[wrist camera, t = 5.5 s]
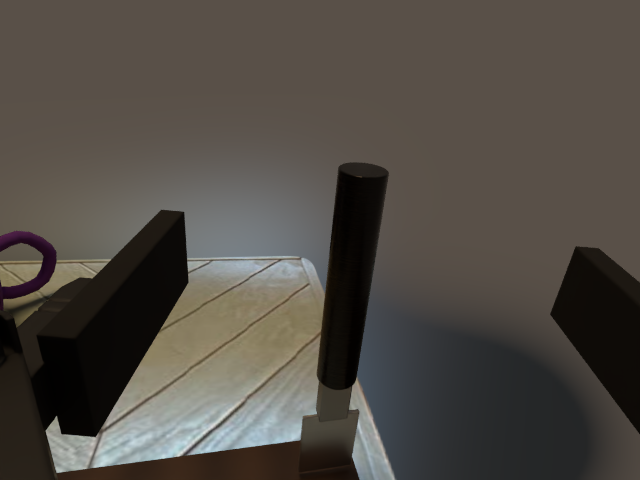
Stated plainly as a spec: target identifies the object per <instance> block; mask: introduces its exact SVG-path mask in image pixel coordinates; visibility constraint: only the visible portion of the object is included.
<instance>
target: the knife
mask: <svg viewBox="0 0 640 480" xmlns="http://www.w3.org/2000/svg"><path fill="white" fill-rule="evenodd" d="M388 175H389V173H388V171H387V170H386V169H384V168H382V167H380V166H377V165H373V164H368V163H345V164H342V165H340V166H339V168H338V177H337V187H336V196H335V205H334V215H333V225H332V234H331V243H330V253H329V262H328V272H327V281H326V292H325V301H324V310H323V320H322V329H321V339H320V348H319V358H318V367H317V377H318V380H319V385H318V394H317V403H316V411H317V414H315V415H307V416H303V419H302V430H301V441H300V452H299V463H298V472H306V471H313V470H319V469H326V468H332V467H339V466H346V465H350V464H351V459H352V453H353V447H354V441H355V435H356V429H357V423H358V418H359V410H358V409H356V410H349V404H350V398H351V391H352V385H353V384H354V383H355V381H356V377H357V371H358V365H359V358H360V352H361V346H362V339H363V333H364V326H365V320H366V314H367V307H368V301H369V295H370V289H371V282H372V276H373V270H374V263H375V257H376V251H377V244H378V238H379V232H380V225H381V219H382V213H383V207H384V200H385V194H386V188H387V182H388Z"/></svg>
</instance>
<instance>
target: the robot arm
mask: <svg viewBox="0 0 640 480" xmlns="http://www.w3.org/2000/svg"><path fill="white" fill-rule="evenodd" d="M184 219H185V218H184V212H180V211H169V210H161V211H160V212H159V213H158V214H157V215H156V216H155V217H154V218H153V219H152V220H151V221H150V222H149V223H148V224H147V225H146V226H145V227H144V228H143V229H142V230H141V231H140V232H139V233H138V234H137V235H136V236H135V237H134V238H133V239H132V240H131V241H130V242H129V243H128V244H127V245H126V246H125V247H124V248H123V249H122V250H121V251H120V252H119V253H118V254H117V255H116V256H115V257H114V258H113V259H112V260H111V261H110V262H109V263H108V264H107V265H106V266H105V267H104V268H103V269H102V270H101V271H100V272H99V273H98V274H97V275H96V276H95V277H94V278H93V279H91V278H78V279H76V280H74V281H72V282H70V283H68V284H66V285H64V286H62V287H61V288H60V289H59V290H58V291H57V292H55V293H54V294H53V295H52V296H51V297H50V298H49V301H46V302H45V303H43V304H42V305H41V306H40V307H39V308H38V311H35V312H34V313H33V314H31V315H30V316H29V317H28V318H27V319H26V320H25V321H24V322H23V323H22V324H21V325H20V326H18V327H17V328H16V324H15V321H14V318H13V317H12V315H11V314H10V313H9V312H6V311H3V310H0V480H58V477H57V473H56V470H55V466H54V462H53V458H52V454H51V450H50V446H49V442H48V439H47V435H46V429H47V428H48V427H49V425H50V424H51V423H52V421H53V420H54V418H55V417H56V416H57V418H58V422H59V426H60V430H61V434H68V435H79V436H90V437H96V436H97V434H98V432H99V431H100V429H101V427H102V426H103V424H104V422H105V421H106V419H107V417H108V416H109V414H110V412H111V411H112V409H113V407H114V406H115V404H116V402H117V401H118V399H119V397H120V396H121V394H122V392H123V391H124V389H125V387H126V386H127V384H128V382H129V381H130V379H131V377H132V376H133V374H134V372H135V371H136V369H137V367H138V366H139V364H140V362H141V361H142V359H143V357H144V356H145V354H146V352H147V351H148V349H149V347H150V346H151V344H152V342H153V341H154V339H155V337H156V336H157V334H158V332H159V331H160V329H161V327H162V326H163V324H164V322H165V321H166V319H167V317H168V316H169V314H170V312H171V311H172V309H173V307H174V306H175V304H176V302H177V301H178V299H179V297H180V296H181V294H182V292H183V291H184V289H185V287H186V286H187V284H188V266H187V251H186V235H185V220H184ZM550 315H551V316H552V317H553V319H554V320H555V321H556V323H557V324H558V325H559V327H560V328H561V329H562V331H563V332H564V333H565V335H566V336H567V338H568V339H569V340H570V342H571V343H572V344H573V346H574V347H575V348H576V350H577V351H578V352H579V354H580V355H581V356H582V358H583V359H584V360H585V362H586V363H587V364H588V365H589V367H590V368H591V370H592V371H593V372H594V373H595V375H596V376H597V378H598V379H599V380H600V382H601V383H602V384H603V386H604V387H605V388H606V390H607V391H608V392H609V394H610V395H611V396H612V398H613V399H614V400H615V402H616V403H617V404H618V406H619V407H620V408H621V410H622V411H623V412H624V413H625V415H626V416H627V418H628V419H629V420H630V422H631V423H632V424H633V426H634V427H635V428H636V430H637V431H638V432H639V434H640V283H639V282H638V281H637V280H636V279H635V278H634V277H632V276H631V275H630V274H629V273H627V272H626V271H625V270H624V269H623V268H622V267H620V266H619V265H618V264H617V263H615V262H614V261H613V260H612V259H611V258H609V257H608V256H607V255H606V254H605V253H604V252H602V251H601V250H600V249H598V248H588V247H577V246H576V247H575V250H574V253H573V255H572V258H571V261H570V263H569V266H568V268H567V271H566V274H565V276H564V279H563V282H562V285H561V287H560V290H559V292H558V295H557V298H556V300H555V303H554V306H553V308H552V311H551V314H550Z"/></svg>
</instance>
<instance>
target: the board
mask: <svg viewBox="0 0 640 480" xmlns="http://www.w3.org/2000/svg"><path fill="white" fill-rule="evenodd" d="M300 441H301V440H300ZM300 441H292V442H285V443H277V444H270V445H262V446H255V447H248V448H240V449H233V450H225V451H218V452H210V453H203V454H195V455H188V456H180V457H173V458H165V459H158V460H151V461H143V462H136V463H128V464H121V465H113V466H106V467H98V468H91V469H83V470H76V471H69V472H61V473H57V477H58V480H359V477H358V474H357V471H356V467H355V464H354V461H353V458H352V459H351V464H350V465H346V466H339V467H332V468H326V469H319V470H313V471H306V472H298V463H299V452H300Z"/></svg>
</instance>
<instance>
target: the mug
mask: <svg viewBox="0 0 640 480" xmlns="http://www.w3.org/2000/svg"><path fill="white" fill-rule="evenodd" d="M18 243H24V244H28V245H30V246H32V247H34V248H36V249H37V250H38V251H40V252H41V253H42V255H43V256H44V258H43V262H42V266H41V270H40V271H39V273H38V275H37V277H35V278H34V279H32V280H31V281H29V282H26V283H23V284H21V285H16V286H12V287H1V282H0V310H3V299H14V298H18V297H22V296H26V295H28V294H30V293H33V292H35V291H37V290H39V289H40V288H41V287H43V286H44V285H45V284H46V283H48V282H49V280H50V278H51V276H52V274H53V273H54V270H55V266H56V250H55V249H54V247H53V246H52V245H51V244H50V243H49V242H47V241H46V240H45V239H43V238H42V237H40V236H37V235H35V234H33V233H31V232H23V231H14V232H11V233H8V234H5V235H2V236H0V252H1V251H3V250H4V249H6V248H8V247H10V246H12V245H15V244H18Z"/></svg>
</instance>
